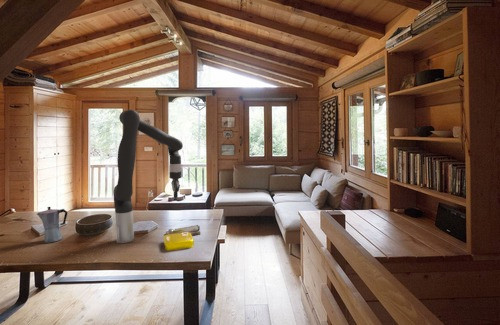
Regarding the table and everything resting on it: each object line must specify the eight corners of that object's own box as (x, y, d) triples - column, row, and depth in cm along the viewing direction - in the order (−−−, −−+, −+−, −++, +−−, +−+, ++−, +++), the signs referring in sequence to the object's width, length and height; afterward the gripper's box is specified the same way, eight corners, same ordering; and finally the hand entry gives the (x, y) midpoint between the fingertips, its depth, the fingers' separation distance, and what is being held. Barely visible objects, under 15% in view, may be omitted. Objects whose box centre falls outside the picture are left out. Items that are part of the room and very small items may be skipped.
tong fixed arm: (169, 235, 165) (169, 231, 165) (168, 233, 169) (167, 229, 169) (200, 230, 174) (199, 226, 174) (197, 228, 178) (197, 224, 178)
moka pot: (41, 238, 166) (38, 205, 164) (71, 235, 171) (69, 203, 169) (35, 244, 157) (32, 209, 155) (67, 241, 162) (65, 207, 160)
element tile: (163, 242, 161) (163, 234, 160) (189, 238, 166) (189, 230, 166) (165, 252, 147) (165, 243, 147) (194, 247, 152) (194, 239, 152)
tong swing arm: (175, 233, 169) (175, 229, 169) (174, 232, 170) (174, 228, 170) (198, 229, 176) (198, 225, 176) (198, 228, 178) (197, 224, 177)
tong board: (170, 239, 163) (170, 237, 163) (166, 233, 173) (165, 231, 173) (200, 234, 172) (200, 231, 172) (194, 228, 182) (194, 226, 182)
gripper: (167, 170, 183) (167, 196, 184) (171, 172, 171) (172, 200, 173) (178, 169, 187) (178, 195, 188) (184, 171, 175) (184, 199, 177)
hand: (175, 197), depth 180 cm, fingers closed
